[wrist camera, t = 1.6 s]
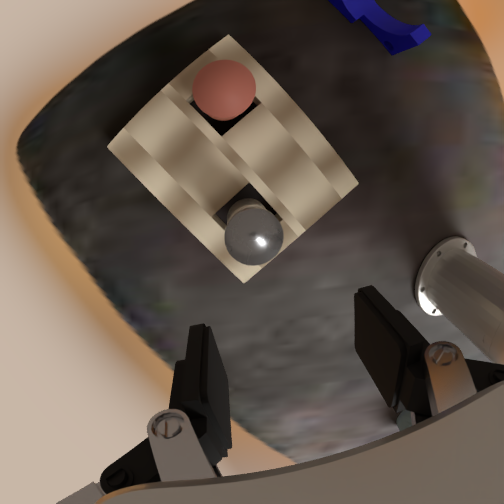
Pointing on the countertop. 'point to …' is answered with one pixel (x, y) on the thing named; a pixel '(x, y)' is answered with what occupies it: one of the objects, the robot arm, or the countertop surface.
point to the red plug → (224, 89)
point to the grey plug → (252, 233)
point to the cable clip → (383, 24)
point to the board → (232, 157)
